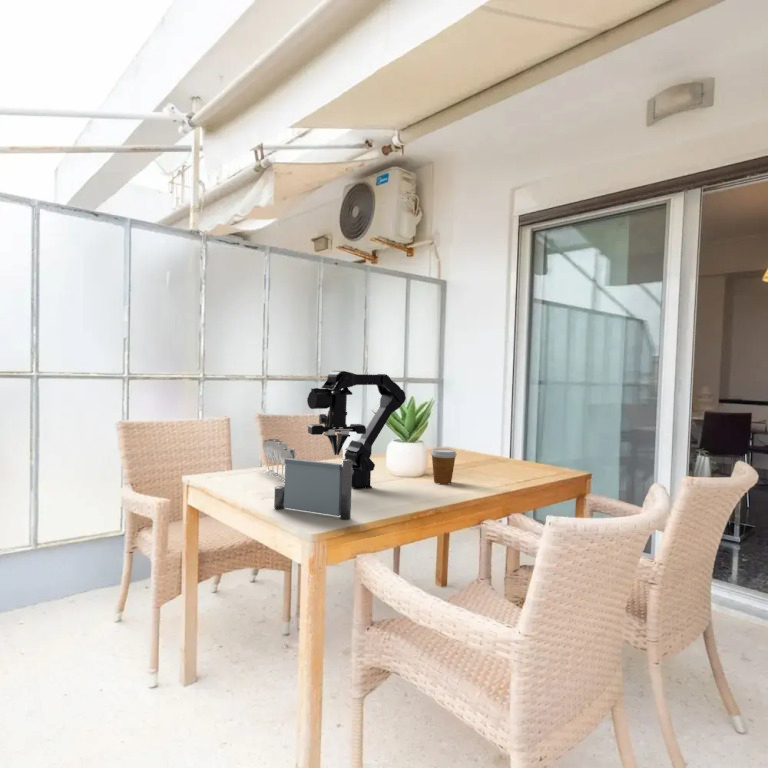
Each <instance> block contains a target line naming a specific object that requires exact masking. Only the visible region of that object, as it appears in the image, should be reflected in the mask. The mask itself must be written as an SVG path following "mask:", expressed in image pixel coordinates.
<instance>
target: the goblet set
mask: <svg viewBox="0 0 768 768" xmlns="http://www.w3.org/2000/svg"><path fill="white" fill-rule="evenodd" d="M262 450H263V452H264V454H265V456H266V457H267V459H266V460H267V469H264V470H262V472H263V471H264V472H263V473H266V475H267V474H270V475H269V476H274V477H281V476H282V478H278V479H279V480H285V478H284V468H285V459H287V458H291V459H298V458H297V457H298V456H297V451H296V449H295V448H289V444H288V443H284V441H282V440H281V439H279V438H278V439H277V438H269V439H265V440H263V441H262ZM270 459H271V461H272V464H271V465H272V466H271V468H272V469H269V468H270ZM275 460H276V468H277V469H276V471H277V472H275V470H274V464H275ZM280 462H281V475H279V474H278V473H279V464H280ZM275 474H277V475H275ZM283 482H284V483H285V481H283Z"/></svg>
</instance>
